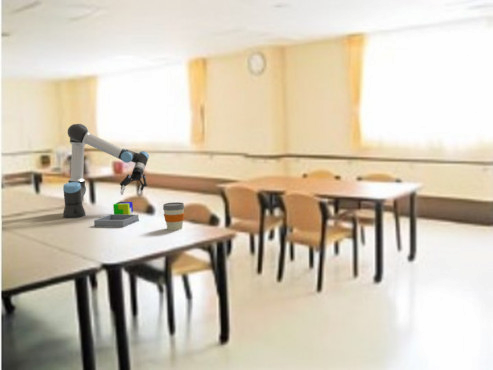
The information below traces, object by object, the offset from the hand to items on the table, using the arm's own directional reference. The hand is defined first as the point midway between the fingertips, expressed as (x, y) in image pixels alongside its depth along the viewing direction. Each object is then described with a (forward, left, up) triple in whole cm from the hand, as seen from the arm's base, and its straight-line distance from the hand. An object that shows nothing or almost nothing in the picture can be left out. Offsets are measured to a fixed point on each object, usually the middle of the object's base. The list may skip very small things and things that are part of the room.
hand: (130, 193), depth 371 cm
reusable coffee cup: (+51, -42, -15) cm, 68 cm away
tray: (+6, -31, -15) cm, 35 cm away
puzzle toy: (0, -11, -15) cm, 19 cm away
